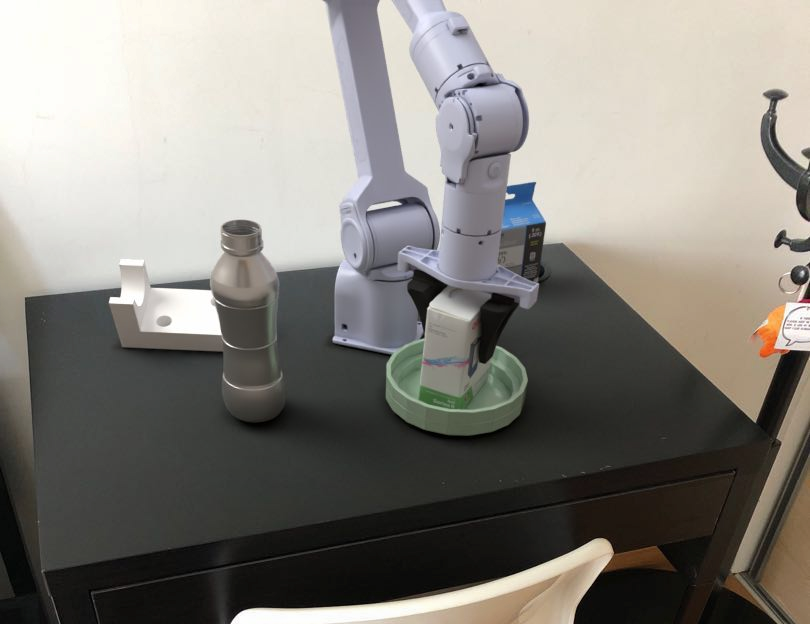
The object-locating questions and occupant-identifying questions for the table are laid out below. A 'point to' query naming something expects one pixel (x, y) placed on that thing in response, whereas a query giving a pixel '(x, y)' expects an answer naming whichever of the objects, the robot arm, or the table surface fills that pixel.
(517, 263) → the label tape box
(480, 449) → the table surface
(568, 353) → the table surface
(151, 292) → the bracket
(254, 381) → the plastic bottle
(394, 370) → the bowl
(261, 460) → the table surface
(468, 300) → the ink box
